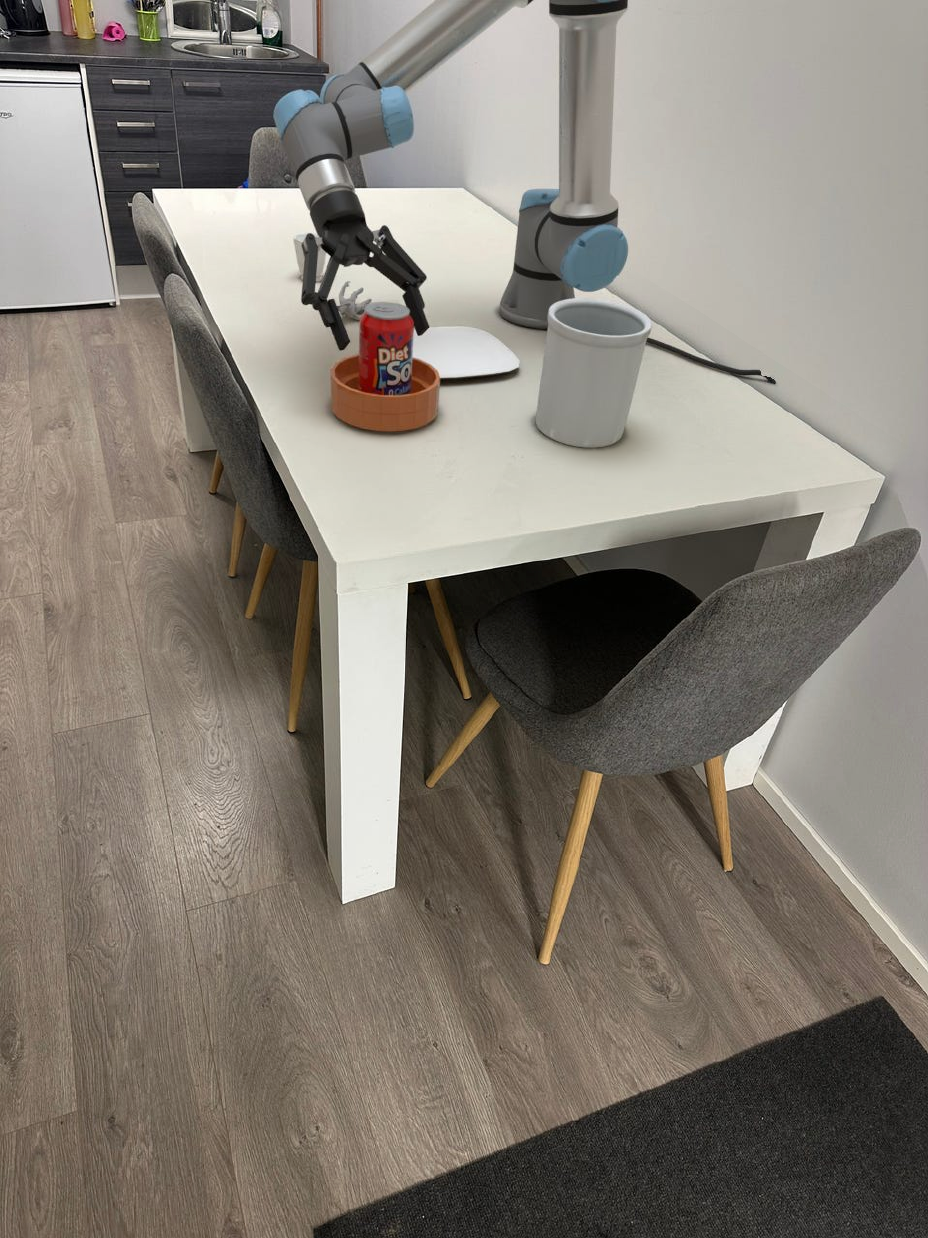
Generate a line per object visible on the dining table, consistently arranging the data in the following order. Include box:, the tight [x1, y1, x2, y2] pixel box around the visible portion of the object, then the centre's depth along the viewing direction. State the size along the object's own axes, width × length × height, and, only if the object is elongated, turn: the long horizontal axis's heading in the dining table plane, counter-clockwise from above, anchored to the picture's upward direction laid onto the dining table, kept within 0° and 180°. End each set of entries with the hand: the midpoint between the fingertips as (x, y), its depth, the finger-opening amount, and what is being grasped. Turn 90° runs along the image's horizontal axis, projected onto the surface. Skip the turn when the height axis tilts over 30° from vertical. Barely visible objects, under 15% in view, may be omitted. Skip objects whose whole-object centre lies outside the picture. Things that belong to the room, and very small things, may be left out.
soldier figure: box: [337, 280, 373, 321], centre depth 163 cm, size 8×5×12 cm
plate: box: [413, 325, 521, 380], centre depth 151 cm, size 22×22×2 cm
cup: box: [292, 232, 327, 283], centre depth 177 cm, size 7×10×8 cm
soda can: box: [358, 301, 415, 395], centre depth 128 cm, size 8×8×15 cm
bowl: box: [330, 353, 441, 432], centre depth 131 cm, size 16×16×6 cm
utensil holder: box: [535, 297, 653, 449], centre depth 129 cm, size 15×15×18 cm
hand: (385, 338), depth 127 cm, fingers open, 13 cm apart
